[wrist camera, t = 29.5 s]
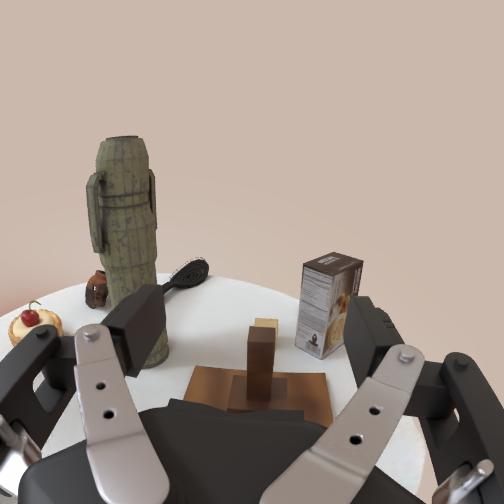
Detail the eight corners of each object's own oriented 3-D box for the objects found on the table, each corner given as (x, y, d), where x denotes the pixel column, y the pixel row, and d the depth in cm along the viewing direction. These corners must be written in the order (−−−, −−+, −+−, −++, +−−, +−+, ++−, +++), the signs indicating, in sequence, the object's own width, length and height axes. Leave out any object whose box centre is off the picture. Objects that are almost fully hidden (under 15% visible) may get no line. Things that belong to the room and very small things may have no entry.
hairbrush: (129, 293, 61) (189, 254, 82) (132, 307, 62) (190, 266, 83) (157, 303, 58) (215, 259, 79) (159, 317, 59) (215, 271, 80)
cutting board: (147, 518, 19) (143, 514, 18) (196, 372, 43) (195, 365, 42) (342, 533, 17) (347, 530, 17) (323, 379, 42) (325, 372, 41)
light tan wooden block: (253, 348, 50) (253, 330, 48) (254, 335, 53) (255, 317, 52) (276, 350, 49) (277, 331, 48) (276, 337, 53) (277, 319, 52)
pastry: (6, 356, 37) (-10, 316, 34) (34, 325, 49) (23, 288, 46) (48, 369, 38) (31, 326, 35) (76, 333, 49) (65, 293, 46)
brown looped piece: (84, 297, 64) (93, 266, 65) (118, 309, 68) (127, 279, 69) (78, 308, 53) (88, 272, 54) (118, 322, 57) (128, 287, 58)
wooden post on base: (227, 427, 31) (224, 348, 27) (233, 394, 37) (232, 316, 33) (284, 430, 31) (297, 353, 27) (284, 397, 37) (294, 320, 32)
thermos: (182, 341, 51) (171, 135, 39) (147, 380, 40) (115, 133, 28) (144, 329, 53) (126, 139, 41) (106, 362, 42) (70, 142, 31)
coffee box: (323, 326, 56) (334, 250, 51) (349, 339, 52) (365, 260, 46) (293, 345, 50) (302, 262, 45) (321, 361, 46) (336, 274, 41)
